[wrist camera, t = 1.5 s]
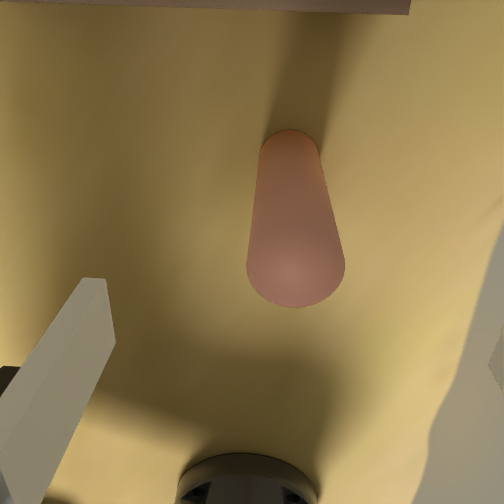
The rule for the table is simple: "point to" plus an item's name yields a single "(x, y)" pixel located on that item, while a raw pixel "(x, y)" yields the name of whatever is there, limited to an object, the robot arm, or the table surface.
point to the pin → (293, 225)
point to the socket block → (263, 5)
